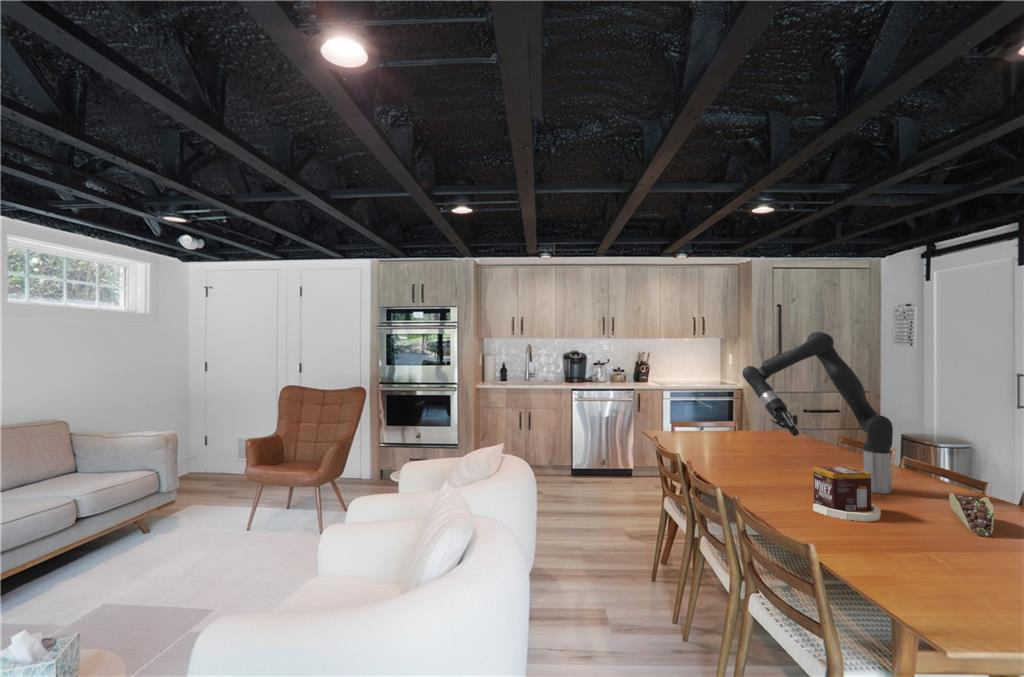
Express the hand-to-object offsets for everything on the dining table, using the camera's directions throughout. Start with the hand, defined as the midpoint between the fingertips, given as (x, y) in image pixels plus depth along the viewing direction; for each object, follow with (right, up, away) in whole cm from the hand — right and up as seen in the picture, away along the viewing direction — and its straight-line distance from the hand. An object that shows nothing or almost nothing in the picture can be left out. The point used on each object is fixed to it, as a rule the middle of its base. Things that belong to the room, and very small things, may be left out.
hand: (796, 434), depth 199 cm
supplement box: (+5, -25, -20) cm, 32 cm away
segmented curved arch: (+7, -25, -23) cm, 35 cm away
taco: (+42, -25, -33) cm, 59 cm away
